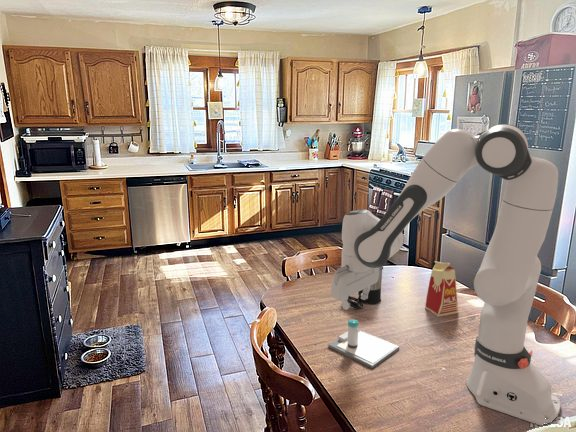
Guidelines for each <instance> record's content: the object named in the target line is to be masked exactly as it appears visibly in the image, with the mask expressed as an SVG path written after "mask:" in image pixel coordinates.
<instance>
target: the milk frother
mask: <svg viewBox="0 0 576 432" xmlns="http://www.w3.org/2000/svg"><path fill="white" fill-rule="evenodd" d="M383 270H384V265H382V266H381V267H379V279H378V281H377V283H375V284H373V285H371V288H370V291H369V293H368V299H366V300H363V299H361V293H362V292H363V290H361V291H359V292H357V293H358V297H354V296H352V295H351V296H349V297H348V300H347V302H348V303H350V307H351V308H353V309H354V310H362V309H363V307H364V304H365V305H369V306H370V305H371V306H372V305H378V304H380V303H381V302H382V296H381V294H382V293H381V292H382V281H383V280H382V279H383V278H382V277H383Z"/></svg>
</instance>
